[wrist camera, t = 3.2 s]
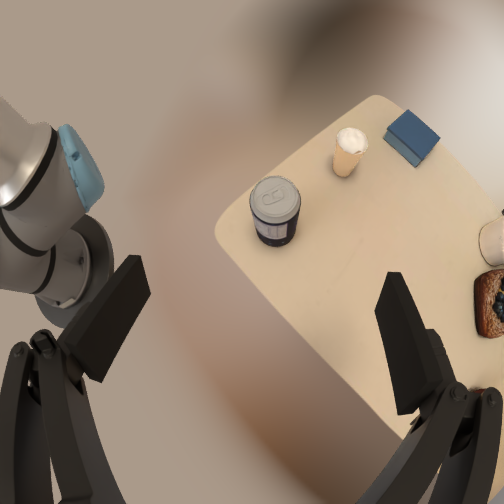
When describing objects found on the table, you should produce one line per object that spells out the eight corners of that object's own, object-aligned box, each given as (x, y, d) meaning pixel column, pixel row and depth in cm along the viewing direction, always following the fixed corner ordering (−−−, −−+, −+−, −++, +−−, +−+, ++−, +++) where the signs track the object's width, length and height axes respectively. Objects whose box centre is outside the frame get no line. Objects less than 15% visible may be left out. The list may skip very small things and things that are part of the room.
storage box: (381, 138, 42) (387, 127, 39) (402, 119, 43) (407, 108, 40) (415, 168, 41) (423, 159, 37) (433, 147, 41) (440, 137, 38)
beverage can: (301, 239, 40) (310, 209, 28) (265, 254, 40) (259, 228, 28) (286, 206, 41) (288, 165, 29) (251, 219, 41) (240, 182, 29)
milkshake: (330, 184, 41) (343, 150, 31) (327, 156, 42) (337, 118, 33) (357, 185, 41) (376, 152, 31) (352, 157, 42) (368, 121, 32)
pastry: (506, 266, 34) (524, 260, 28) (511, 328, 31) (530, 327, 26) (469, 275, 36) (488, 270, 30) (475, 343, 33) (494, 345, 27)
